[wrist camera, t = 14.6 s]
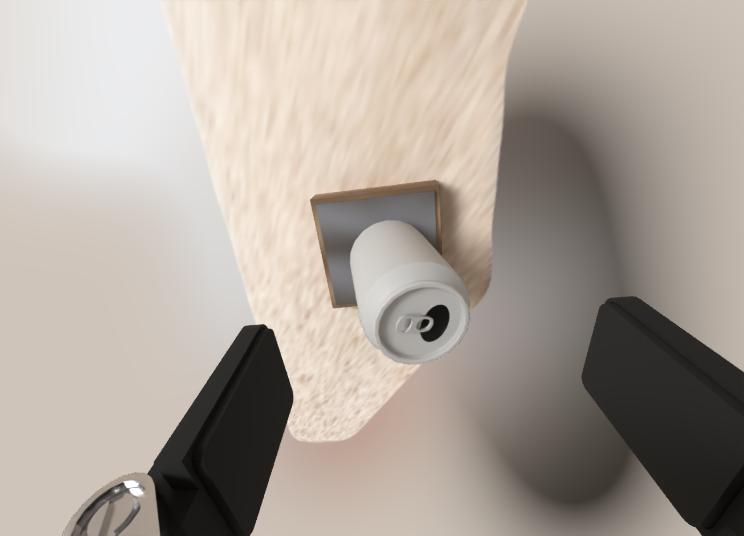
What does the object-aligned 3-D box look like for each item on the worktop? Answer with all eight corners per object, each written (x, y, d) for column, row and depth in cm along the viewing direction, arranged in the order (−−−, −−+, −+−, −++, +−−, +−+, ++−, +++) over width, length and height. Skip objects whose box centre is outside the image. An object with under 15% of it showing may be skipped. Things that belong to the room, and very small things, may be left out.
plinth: (316, 193, 31) (309, 200, 28) (434, 178, 30) (439, 184, 27) (336, 294, 36) (332, 309, 33) (438, 284, 35) (443, 299, 32)
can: (413, 293, 32) (458, 378, 21) (342, 283, 30) (351, 370, 19) (434, 225, 29) (499, 283, 18) (357, 210, 27) (378, 264, 16)
